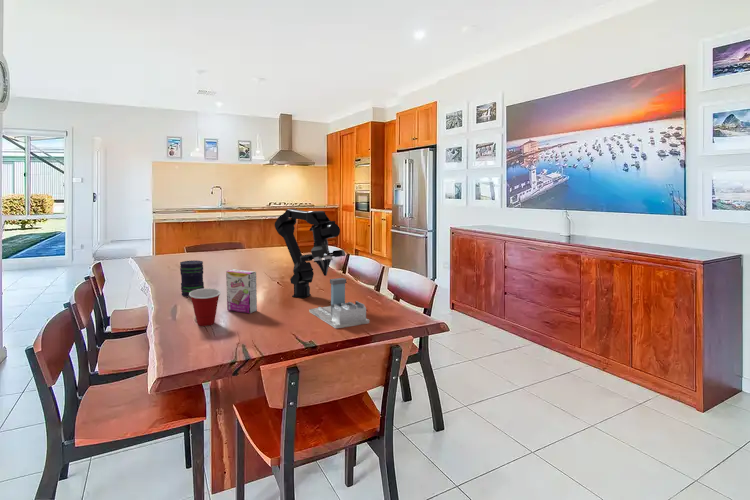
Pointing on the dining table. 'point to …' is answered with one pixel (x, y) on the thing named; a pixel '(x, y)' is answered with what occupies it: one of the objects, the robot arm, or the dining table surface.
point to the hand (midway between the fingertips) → (325, 275)
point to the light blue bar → (337, 290)
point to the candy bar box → (241, 291)
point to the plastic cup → (205, 305)
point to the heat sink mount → (342, 314)
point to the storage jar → (191, 276)
